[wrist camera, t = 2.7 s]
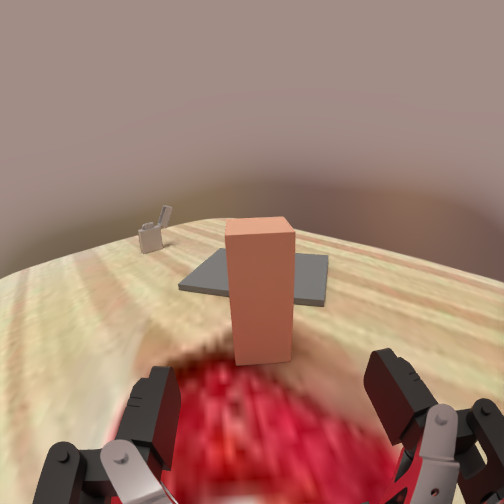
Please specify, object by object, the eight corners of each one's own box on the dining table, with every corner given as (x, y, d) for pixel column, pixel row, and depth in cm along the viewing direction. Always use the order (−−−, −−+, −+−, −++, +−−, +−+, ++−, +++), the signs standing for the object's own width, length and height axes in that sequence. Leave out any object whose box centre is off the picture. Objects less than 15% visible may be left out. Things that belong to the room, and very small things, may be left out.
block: (282, 329, 25) (283, 216, 22) (290, 361, 21) (295, 231, 17) (235, 333, 25) (226, 219, 21) (236, 365, 21) (224, 235, 17)
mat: (328, 260, 41) (328, 255, 41) (323, 306, 29) (324, 300, 29) (220, 252, 46) (220, 248, 46) (179, 289, 34) (178, 284, 34)
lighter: (143, 254, 47) (137, 211, 45) (140, 251, 49) (134, 210, 46) (177, 244, 52) (172, 204, 49) (173, 243, 53) (168, 203, 50)
